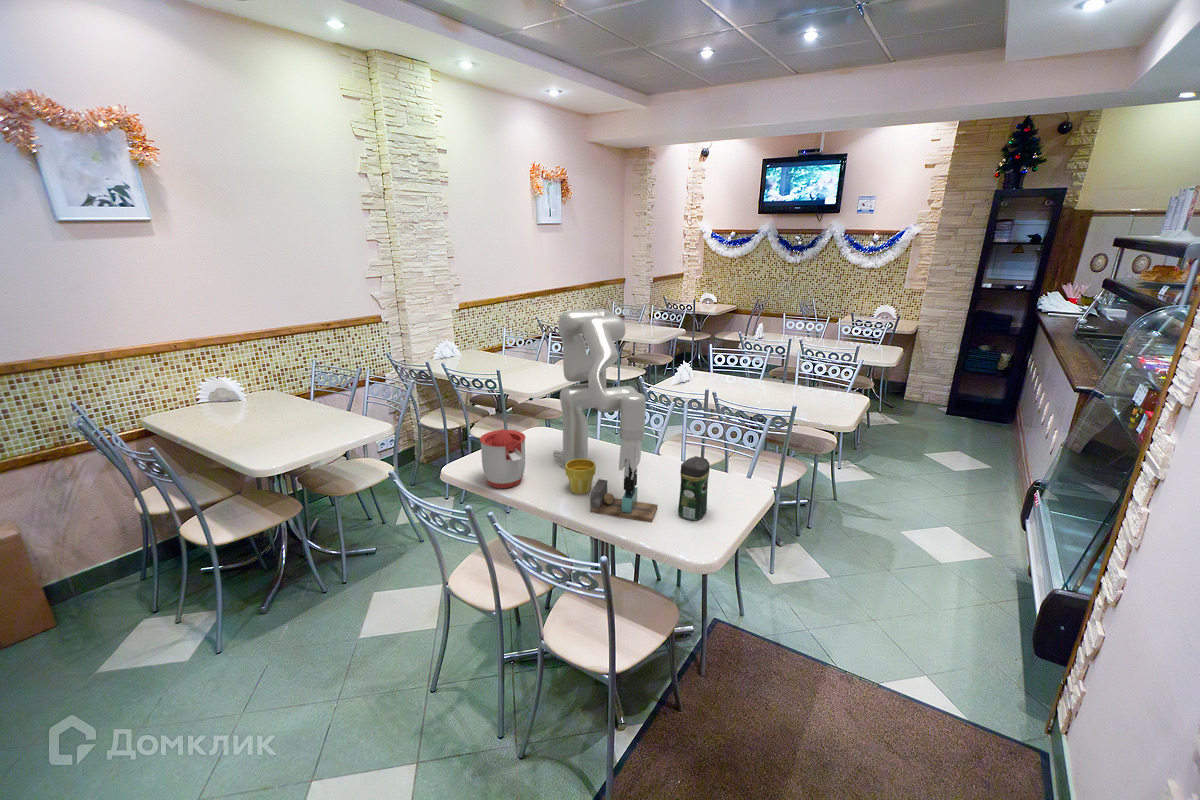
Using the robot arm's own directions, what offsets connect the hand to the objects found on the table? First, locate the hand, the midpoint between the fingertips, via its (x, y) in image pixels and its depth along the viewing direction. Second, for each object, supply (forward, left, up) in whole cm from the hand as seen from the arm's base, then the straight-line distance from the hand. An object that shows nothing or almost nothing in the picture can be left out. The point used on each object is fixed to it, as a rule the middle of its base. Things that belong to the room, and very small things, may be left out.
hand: (630, 486), depth 162 cm
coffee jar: (+19, +5, -9) cm, 22 cm away
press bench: (-2, 0, -9) cm, 9 cm away
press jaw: (0, 0, -7) cm, 7 cm away
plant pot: (-20, +9, -9) cm, 23 cm away
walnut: (-7, 0, -7) cm, 10 cm away
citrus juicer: (-47, +6, -9) cm, 48 cm away
